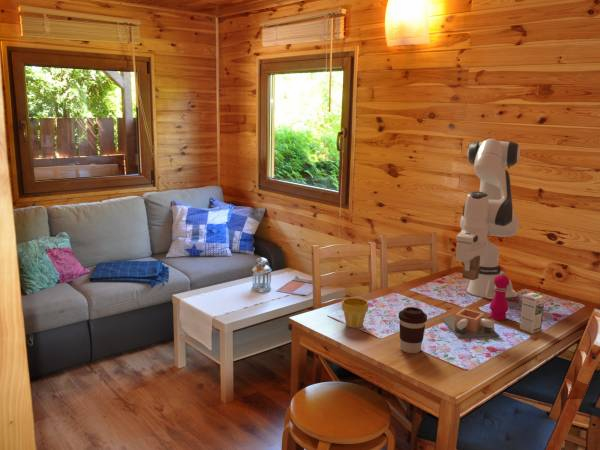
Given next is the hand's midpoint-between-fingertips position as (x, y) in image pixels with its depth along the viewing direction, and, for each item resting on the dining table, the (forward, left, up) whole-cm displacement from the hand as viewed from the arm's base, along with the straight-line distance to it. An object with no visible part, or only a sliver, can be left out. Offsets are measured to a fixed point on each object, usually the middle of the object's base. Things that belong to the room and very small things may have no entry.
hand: (471, 268), depth 202 cm
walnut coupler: (0, 0, -4) cm, 4 cm away
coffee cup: (+28, +18, -24) cm, 42 cm away
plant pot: (+44, -5, -24) cm, 51 cm away
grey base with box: (-1, +1, -24) cm, 24 cm away
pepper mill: (-18, -9, -24) cm, 31 cm away
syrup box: (-25, +4, -24) cm, 35 cm away
